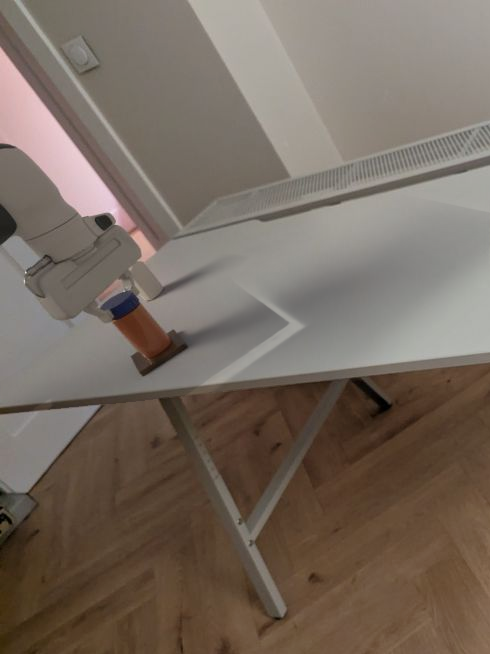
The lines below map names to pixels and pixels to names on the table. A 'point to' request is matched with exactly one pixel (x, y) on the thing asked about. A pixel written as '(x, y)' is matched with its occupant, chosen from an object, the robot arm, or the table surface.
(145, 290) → the eye dropper bottle
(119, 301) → the lid
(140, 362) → the board
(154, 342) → the jar
